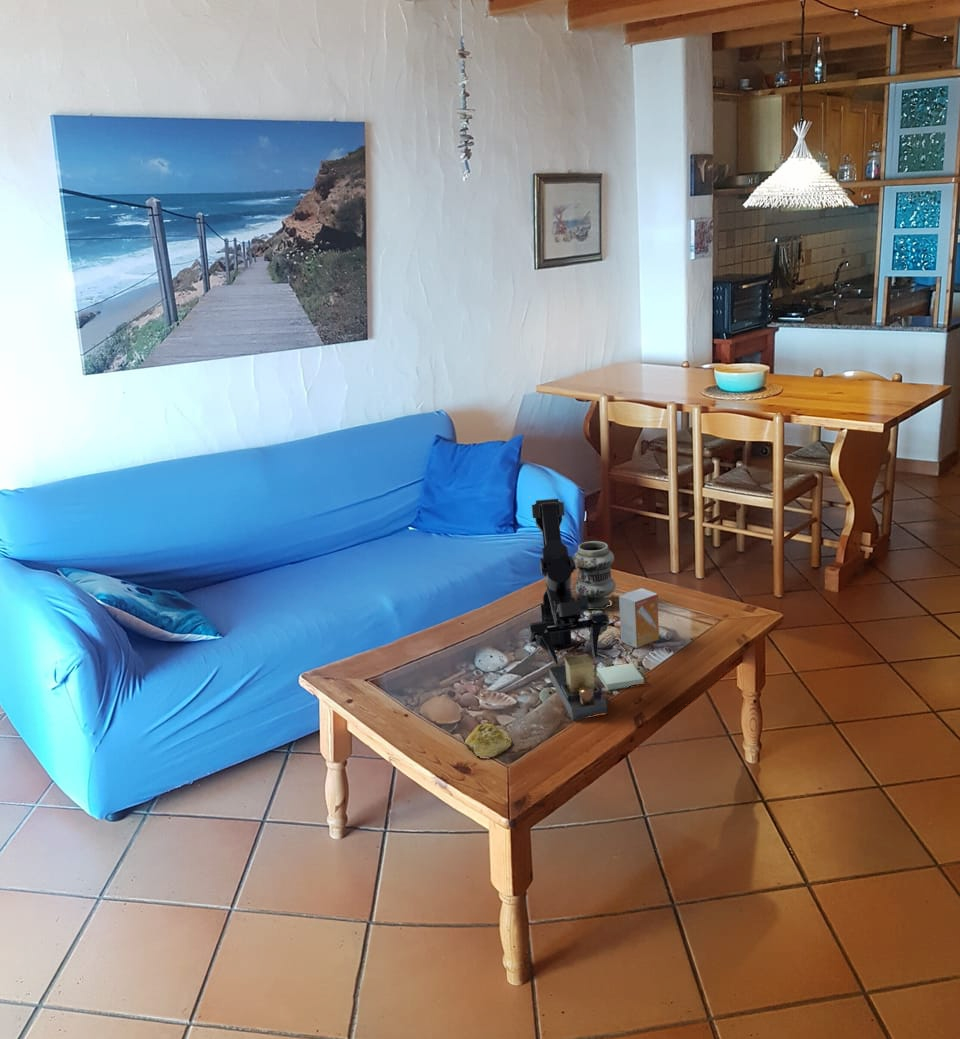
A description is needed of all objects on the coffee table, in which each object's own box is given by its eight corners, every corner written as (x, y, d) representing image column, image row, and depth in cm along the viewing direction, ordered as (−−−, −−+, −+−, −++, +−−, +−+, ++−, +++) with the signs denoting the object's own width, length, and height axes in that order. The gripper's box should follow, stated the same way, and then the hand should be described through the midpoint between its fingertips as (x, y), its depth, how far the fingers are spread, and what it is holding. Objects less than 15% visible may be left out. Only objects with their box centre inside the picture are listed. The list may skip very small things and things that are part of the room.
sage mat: (596, 674, 236) (596, 668, 236) (632, 668, 237) (632, 663, 237) (607, 690, 228) (607, 684, 227) (644, 684, 229) (643, 678, 228)
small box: (636, 649, 248) (634, 601, 244) (620, 641, 253) (618, 595, 250) (660, 639, 252) (658, 593, 249) (643, 632, 257) (641, 587, 254)
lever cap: (566, 688, 224) (564, 657, 221) (589, 685, 224) (587, 653, 222) (571, 697, 219) (569, 665, 217) (594, 693, 220) (593, 661, 218)
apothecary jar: (600, 614, 272) (597, 554, 267) (566, 607, 280) (562, 548, 275) (624, 600, 280) (621, 542, 275) (591, 593, 288) (587, 536, 283)
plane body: (549, 678, 236) (548, 656, 234) (581, 673, 237) (580, 651, 235) (572, 720, 215) (571, 696, 213) (607, 714, 216) (605, 690, 215)
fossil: (511, 727, 203) (464, 734, 202) (515, 755, 203) (467, 762, 202) (506, 715, 214) (462, 721, 213) (510, 741, 214) (465, 748, 213)
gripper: (526, 591, 221) (540, 654, 214) (604, 580, 224) (621, 641, 216) (522, 611, 231) (535, 672, 223) (597, 600, 233) (613, 660, 226)
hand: (576, 661), depth 222 cm, fingers open, 9 cm apart
